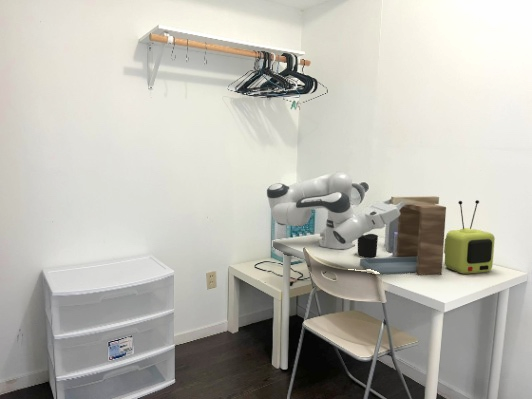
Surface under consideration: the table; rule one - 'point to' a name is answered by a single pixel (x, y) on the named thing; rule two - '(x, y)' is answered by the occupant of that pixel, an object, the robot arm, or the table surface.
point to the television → (469, 249)
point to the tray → (391, 265)
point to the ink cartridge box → (394, 244)
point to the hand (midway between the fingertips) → (397, 201)
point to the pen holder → (367, 245)
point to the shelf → (422, 236)
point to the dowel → (415, 200)
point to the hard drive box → (390, 234)
